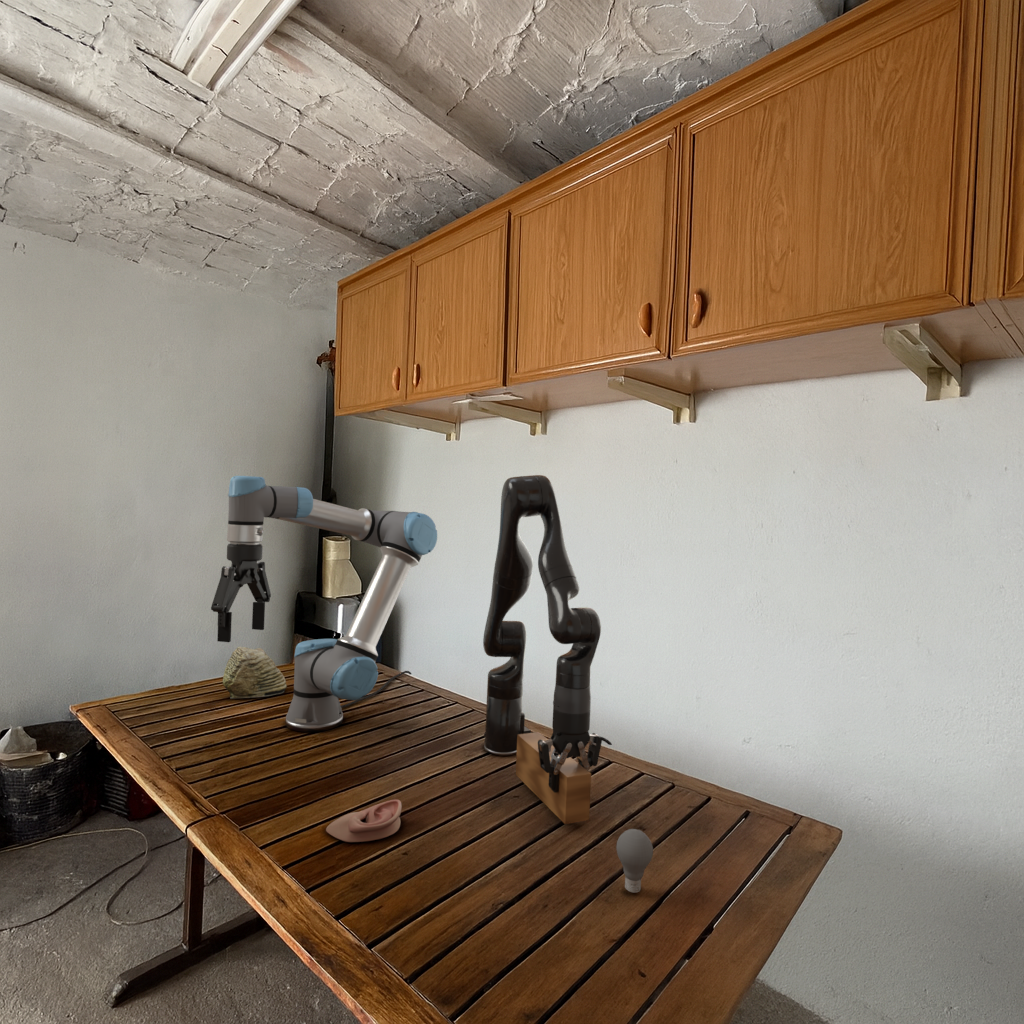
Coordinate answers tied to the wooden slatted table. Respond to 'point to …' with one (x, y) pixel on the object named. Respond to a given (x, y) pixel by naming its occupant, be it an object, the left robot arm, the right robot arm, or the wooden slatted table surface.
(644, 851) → the light bulb
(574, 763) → the bar
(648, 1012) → the wooden slatted table surface
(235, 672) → the fossil
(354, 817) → the anatomical model
